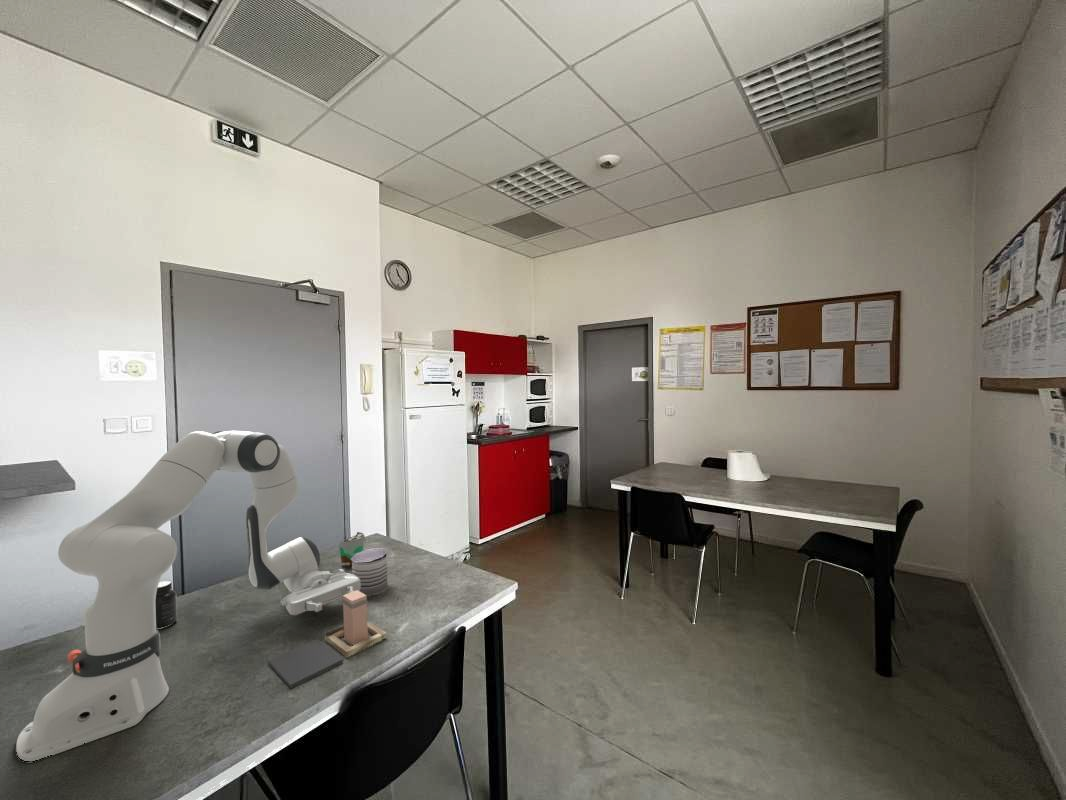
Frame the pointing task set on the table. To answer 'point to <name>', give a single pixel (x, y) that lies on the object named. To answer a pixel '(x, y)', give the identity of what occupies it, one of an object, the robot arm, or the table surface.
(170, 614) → the supplement bottle
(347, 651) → the frame
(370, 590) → the can
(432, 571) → the table surface
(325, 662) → the mat
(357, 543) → the food container
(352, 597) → the block
